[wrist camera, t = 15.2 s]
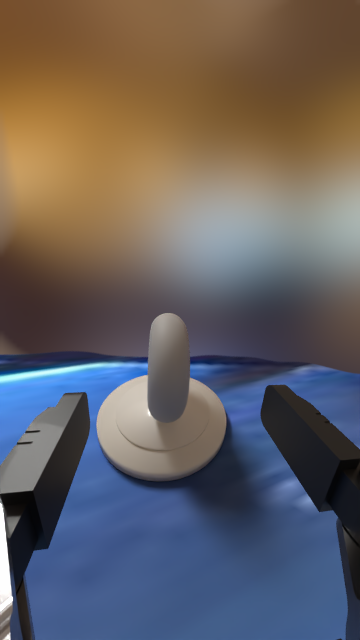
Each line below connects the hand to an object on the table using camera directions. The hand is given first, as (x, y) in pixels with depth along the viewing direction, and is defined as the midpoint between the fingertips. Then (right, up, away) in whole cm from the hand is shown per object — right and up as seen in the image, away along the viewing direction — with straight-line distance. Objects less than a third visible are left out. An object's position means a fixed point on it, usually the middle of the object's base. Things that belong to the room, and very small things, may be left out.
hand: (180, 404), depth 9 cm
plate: (-2, -6, +12) cm, 14 cm away
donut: (-2, -5, +12) cm, 13 cm away
